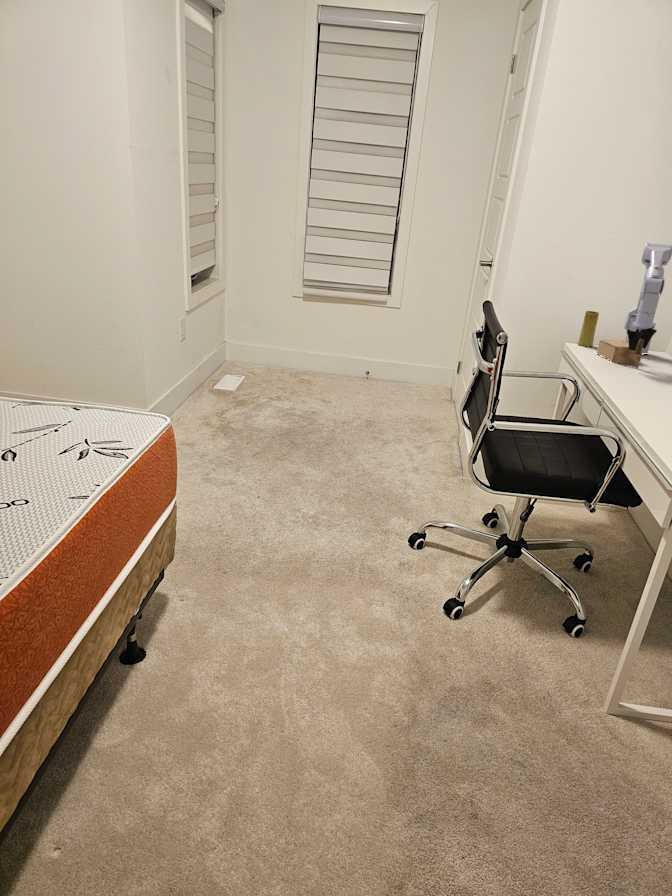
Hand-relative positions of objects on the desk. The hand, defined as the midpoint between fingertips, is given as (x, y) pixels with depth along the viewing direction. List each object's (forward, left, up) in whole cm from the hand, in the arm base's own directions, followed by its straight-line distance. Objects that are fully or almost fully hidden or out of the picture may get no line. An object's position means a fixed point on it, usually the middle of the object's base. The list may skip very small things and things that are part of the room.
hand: (637, 348), depth 227 cm
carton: (-2, -14, -7) cm, 16 cm away
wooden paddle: (+1, -3, -7) cm, 8 cm away
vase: (-1, -35, -8) cm, 36 cm away
